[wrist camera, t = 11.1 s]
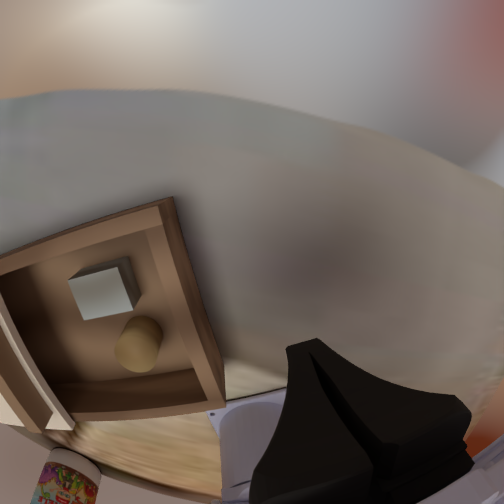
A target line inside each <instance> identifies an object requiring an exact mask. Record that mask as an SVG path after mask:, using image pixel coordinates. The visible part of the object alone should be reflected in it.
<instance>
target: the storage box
mask: <svg viewBox="0 0 504 504" xmlns="http://www.w3.org/2000/svg"><path fill="white" fill-rule="evenodd" d="M0 293H1V296H2V298H3V300H4V303H5V305H6V307H7V310H8V312H9V314H10V316H11V319H12V321H13V323H14V325H15V327H16V329H17V331H18V333H19V335H20V337H21V339H22V341H23V343H24V345H25V347H26V349H27V350H28V352H29V354H30V356H31V358H32V359H33V361H34V363H35V365H36V366H37V368H38V370H39V371H40V373H41V375H42V376H43V378H44V379H45V381H46V383H47V384H48V386H49V387H50V389H51V390H52V392H53V393H54V395H55V396H56V398H57V399H58V401H59V402H60V404H61V405H62V406H63V408H64V409H65V411H66V412H67V413H68V415H69V416H70V417H71V419H72V420H73V421H117V420H134V419H147V418H158V417H167V416H176V415H183V414H191V413H197V412H204V411H210V410H216V409H221V408H226V392H225V375H224V364H223V362H222V359H221V356H220V353H219V350H218V347H217V344H216V341H215V338H214V336H213V333H212V330H211V327H210V324H209V321H208V317H207V314H206V311H205V308H204V305H203V302H202V299H201V296H200V292H199V289H198V286H197V283H196V279H195V276H194V273H193V269H192V266H191V263H190V259H189V256H188V252H187V249H186V245H185V242H184V238H183V235H182V231H181V227H180V224H179V220H178V216H177V212H176V209H175V205H174V201H173V197H168V198H165V199H161V200H158V201H154V202H151V203H147V204H144V205H141V206H137V207H134V208H131V209H127V210H124V211H121V212H118V213H115V214H111V215H108V216H105V217H102V218H99V219H96V220H93V221H90V222H87V223H84V224H81V225H78V226H75V227H73V228H70V229H67V230H64V231H61V232H59V233H56V234H53V235H50V236H48V237H45V238H42V239H40V240H37V241H35V242H32V243H29V244H27V245H24V246H22V247H19V248H17V249H14V250H12V251H10V252H7V253H5V254H2V255H0Z"/></svg>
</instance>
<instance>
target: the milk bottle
mask: <svg viewBox="0 0 504 504" xmlns="http://www.w3.org/2000/svg"><path fill="white" fill-rule="evenodd" d="M100 480H101V473H100V471H99V469H98V468H97V467H96V466H95V465H94V464H93V463H92V462H91V461H89V460H88V459H86V458H85V457H83V456H81V455H79V454H77V453H75V452H73V451H70V450H67V449H62V448H55V449H53V450H52V451H51V452H50V454H49V456H48V458H47V461H46V463H45V466H44V468H43V471H42V473H41V476H40V478H39V481H38V484H37V487H36V489H35V492H34V495H33V497H32V500H31V503H30V504H95V501H96V496H97V493H98V489H99V484H100Z"/></svg>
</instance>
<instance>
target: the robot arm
mask: <svg viewBox="0 0 504 504" xmlns="http://www.w3.org/2000/svg"><path fill="white" fill-rule="evenodd" d="M286 353H287V358H288V383H287V388H285V389H281V390H277V391H273V392H269V393H265V394H261V395H256V396H252V397H247V398H243V399H238V400H233V401H228V402H226V408H221V409H216V410H210V411H206V413H207V415H208V417H209V419H210V421H211V423H212V425H213V427H214V429H215V431H216V433H217V435H218V437H219V439H220V456H221V473H222V489H221V491H222V503H220V500H212V502H211V503H210V504H504V434H503V435H502V436H501V437H500V438H498V439H497V440H496V441H495V442H493V443H492V444H491V445H489V446H488V447H487V448H485V449H484V450H483V451H481V452H480V453H479V454H477V455H476V456H474V457H473V458H471V457H470V456H469V454H468V453H467V452H466V450H465V449H466V448H467V444H466V443H465V442H464V441H463V437H464V435H465V433H466V431H467V429H468V427H469V424H470V421H471V418H472V415H471V412H470V410H469V409H468V408H467V407H466V406H465V405H464V404H463V402H462V401H461V400H459V399H458V398H457V397H456V396H455V395H448V394H438V393H429V392H424V391H419V390H414V389H410V388H406V387H403V386H400V385H397V384H393V383H390V382H388V381H385V380H383V379H380V378H378V377H376V376H374V375H372V374H370V373H368V372H366V371H364V370H362V369H361V368H359V367H357V366H355V365H354V364H352V363H351V362H349V361H348V360H346V359H345V358H343V357H342V356H340V355H339V354H337V353H336V352H335V351H333V350H332V349H331V348H329V347H328V346H327V345H326V344H324V343H323V342H322V341H321V340H320V339H318V338H315V339H311V340H308V341H304V342H301V343H297V344H294V345H290V346H288V347H287V348H286Z"/></svg>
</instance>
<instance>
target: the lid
mask: <svg viewBox="0 0 504 504" xmlns="http://www.w3.org/2000/svg"><path fill="white" fill-rule="evenodd" d="M0 423H4V424H10V425H17V426H25V427H26V428H27V429H28V431H29V432H35V433H43V432H44V430H45V429H59V430H73V428H74V425H75V423H74V421H73V420H72V419H71V417H70V416H69V415H68V413H67V412H66V411H65V409H64V408H63V406H62V405H61V404H60V402H59V401H58V399H57V398H56V396H55V395H54V393H53V392H52V390H51V389H50V387H49V386H48V384H47V383H46V381H45V379H44V378H43V376H42V375H41V373H40V371H39V370H38V368H37V366H36V365H35V363H34V361H33V359H32V358H31V356H30V354H29V352H28V350H27V349H26V347H25V345H24V343H23V341H22V339H21V337H20V335H19V333H18V331H17V329H16V327H15V325H14V323H13V321H12V319H11V316H10V314H9V312H8V310H7V307H6V305H5V303H4V300H3V298H2V296H1V293H0Z"/></svg>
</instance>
